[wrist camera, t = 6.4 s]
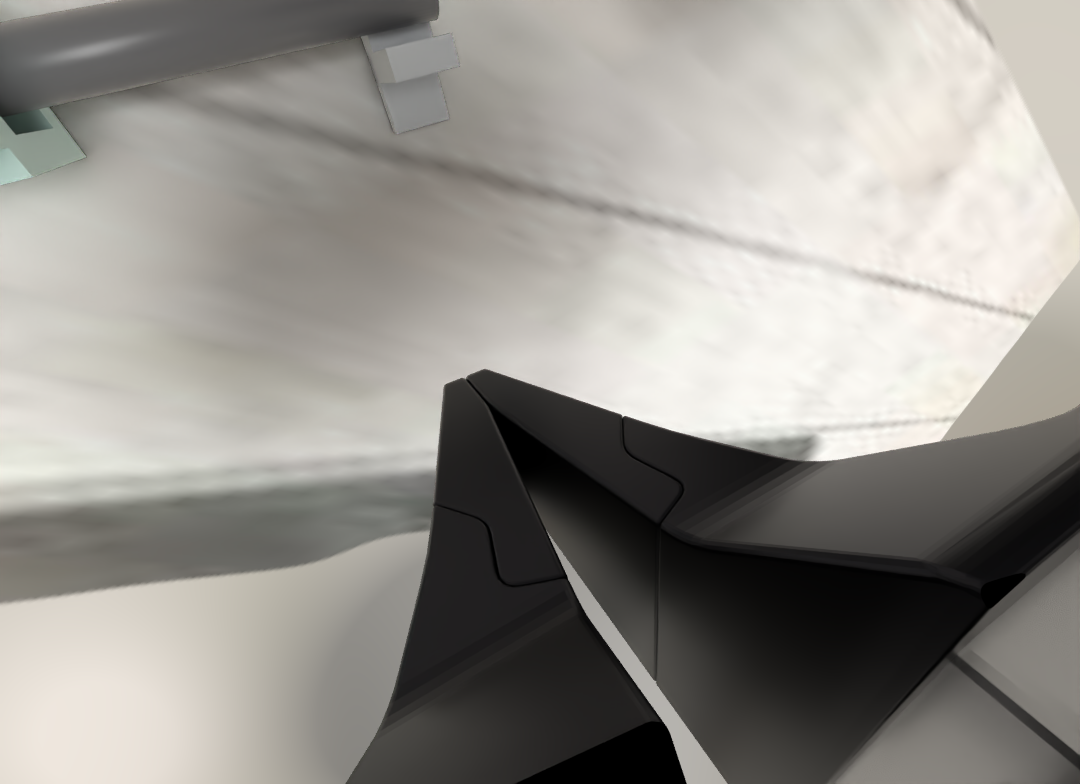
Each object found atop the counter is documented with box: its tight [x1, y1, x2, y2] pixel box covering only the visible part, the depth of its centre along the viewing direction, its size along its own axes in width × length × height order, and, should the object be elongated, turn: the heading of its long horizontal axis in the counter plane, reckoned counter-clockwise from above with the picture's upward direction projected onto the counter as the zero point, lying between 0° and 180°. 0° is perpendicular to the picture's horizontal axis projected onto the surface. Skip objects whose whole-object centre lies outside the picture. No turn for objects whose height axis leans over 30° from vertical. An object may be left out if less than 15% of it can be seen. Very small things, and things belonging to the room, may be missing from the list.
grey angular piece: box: [0, 0, 460, 134], centre depth 11 cm, size 18×7×4 cm, turn 102°
